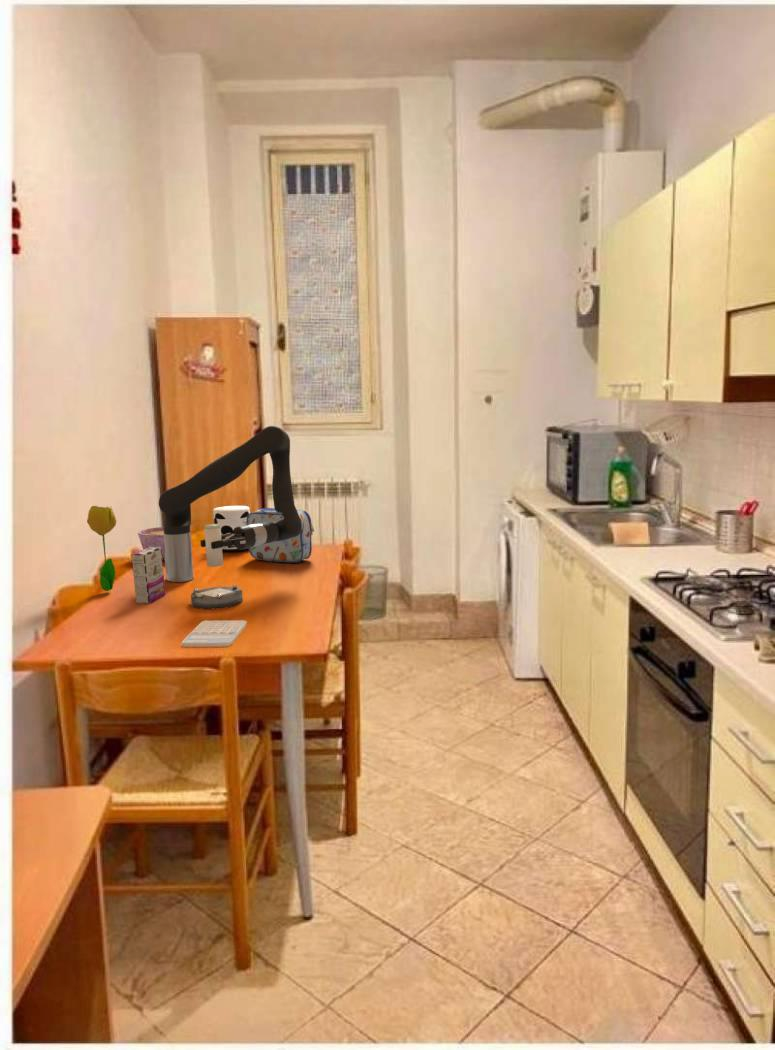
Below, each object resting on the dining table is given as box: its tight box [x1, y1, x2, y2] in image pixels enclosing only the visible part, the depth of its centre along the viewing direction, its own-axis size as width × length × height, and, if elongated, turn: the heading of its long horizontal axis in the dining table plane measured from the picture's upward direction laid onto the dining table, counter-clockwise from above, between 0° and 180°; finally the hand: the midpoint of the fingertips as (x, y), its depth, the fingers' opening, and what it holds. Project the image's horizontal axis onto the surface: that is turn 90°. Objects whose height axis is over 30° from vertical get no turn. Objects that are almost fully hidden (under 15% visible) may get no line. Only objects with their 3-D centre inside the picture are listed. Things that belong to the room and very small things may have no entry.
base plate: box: [190, 584, 243, 610], centre depth 243 cm, size 16×16×4 cm
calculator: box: [181, 619, 248, 648], centre depth 210 cm, size 13×20×2 cm, turn 177°
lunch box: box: [246, 507, 315, 564], centre depth 302 cm, size 28×10×22 cm, turn 67°
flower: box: [86, 505, 117, 592], centre depth 257 cm, size 9×8×30 cm
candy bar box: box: [130, 547, 166, 605], centre depth 248 cm, size 11×5×16 cm, turn 168°
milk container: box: [212, 505, 251, 552], centre depth 328 cm, size 17×17×18 cm
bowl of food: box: [137, 526, 165, 559], centre depth 313 cm, size 20×20×12 cm
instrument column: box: [203, 523, 224, 568], centre depth 241 cm, size 5×5×13 cm
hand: (206, 544), depth 239 cm, fingers closed on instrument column, 5 cm apart
